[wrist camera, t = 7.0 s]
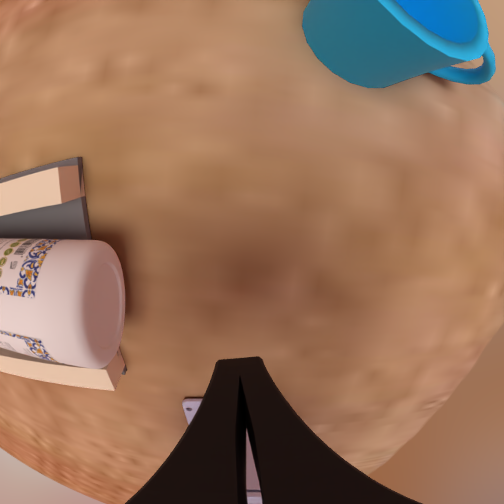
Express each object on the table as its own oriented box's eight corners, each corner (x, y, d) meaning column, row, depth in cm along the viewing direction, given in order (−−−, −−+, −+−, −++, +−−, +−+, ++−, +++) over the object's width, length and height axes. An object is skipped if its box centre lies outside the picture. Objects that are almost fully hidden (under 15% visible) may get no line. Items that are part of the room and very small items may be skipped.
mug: (288, 59, 14) (334, -6, 7) (315, -25, 12) (356, -91, 4) (439, 131, 16) (525, 133, 8) (450, 48, 14) (520, 28, 6)
